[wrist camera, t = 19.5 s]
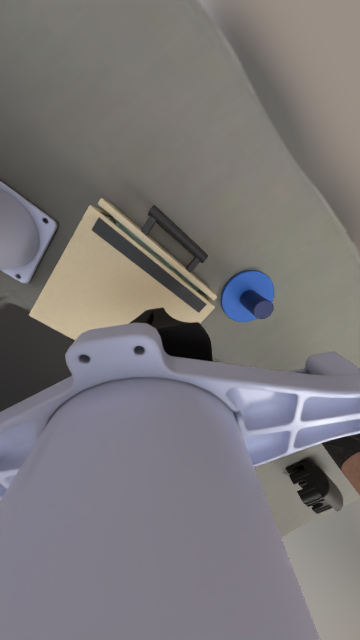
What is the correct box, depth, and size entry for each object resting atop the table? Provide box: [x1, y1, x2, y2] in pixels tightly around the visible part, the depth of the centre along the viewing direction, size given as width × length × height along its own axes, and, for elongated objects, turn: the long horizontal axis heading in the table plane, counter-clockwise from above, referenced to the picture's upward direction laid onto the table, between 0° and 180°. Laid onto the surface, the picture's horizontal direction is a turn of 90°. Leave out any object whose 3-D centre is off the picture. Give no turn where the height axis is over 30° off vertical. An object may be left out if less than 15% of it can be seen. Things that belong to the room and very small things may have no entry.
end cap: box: [286, 461, 343, 514], centre depth 41 cm, size 10×7×7 cm
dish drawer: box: [29, 205, 215, 340], centre depth 20 cm, size 14×12×5 cm
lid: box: [221, 270, 274, 322], centre depth 22 cm, size 7×7×5 cm
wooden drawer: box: [98, 198, 217, 301], centre depth 20 cm, size 14×14×3 cm
